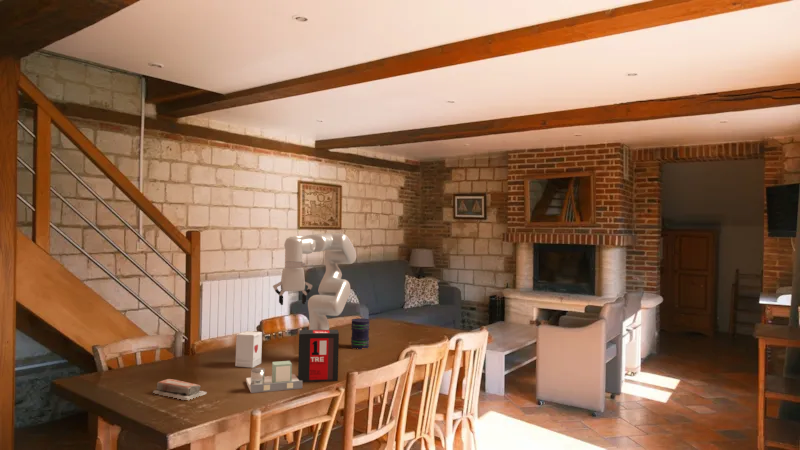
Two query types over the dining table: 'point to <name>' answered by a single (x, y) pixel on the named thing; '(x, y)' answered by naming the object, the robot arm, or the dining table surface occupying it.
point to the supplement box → (248, 349)
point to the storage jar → (360, 333)
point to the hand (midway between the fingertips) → (292, 304)
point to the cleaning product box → (318, 355)
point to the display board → (274, 385)
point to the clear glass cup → (257, 376)
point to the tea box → (281, 371)
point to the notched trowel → (178, 389)
